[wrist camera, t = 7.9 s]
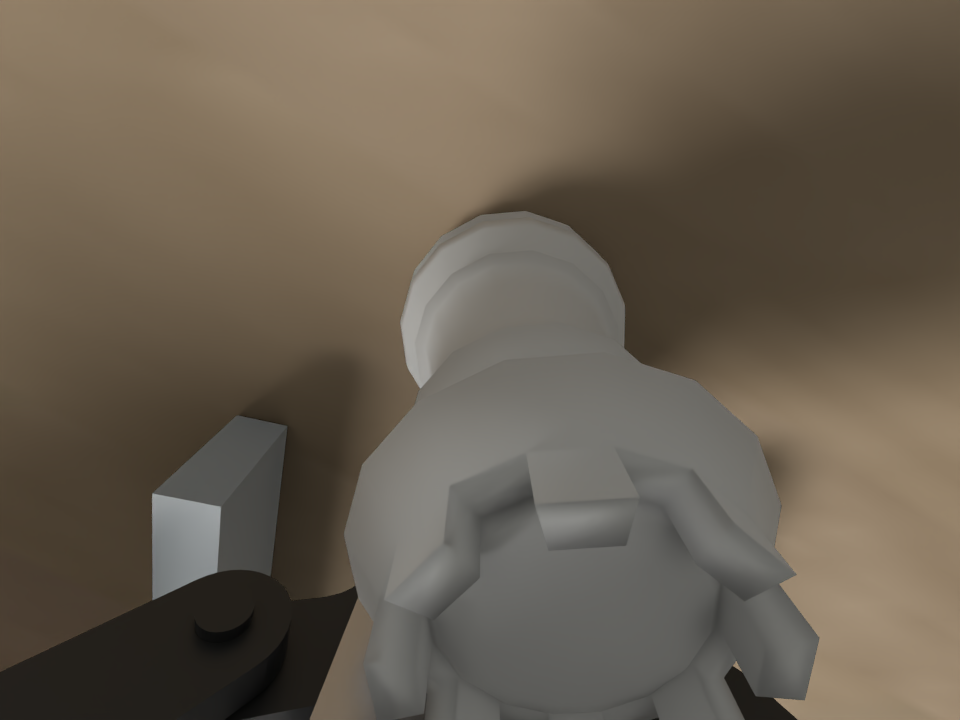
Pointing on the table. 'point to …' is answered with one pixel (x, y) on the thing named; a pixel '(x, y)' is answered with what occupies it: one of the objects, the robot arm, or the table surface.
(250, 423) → the channel
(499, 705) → the rook chess piece
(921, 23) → the table surface
